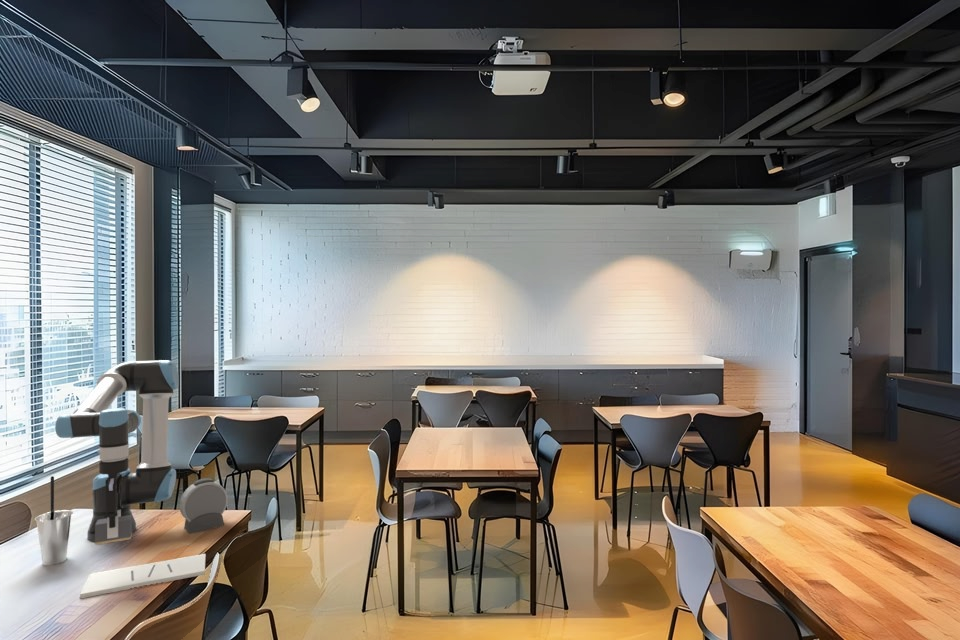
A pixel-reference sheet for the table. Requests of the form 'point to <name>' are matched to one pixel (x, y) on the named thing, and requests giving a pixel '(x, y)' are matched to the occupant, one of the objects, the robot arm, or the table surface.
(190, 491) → the alarm clock
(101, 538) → the block
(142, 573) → the board
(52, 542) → the metal cup with straw
